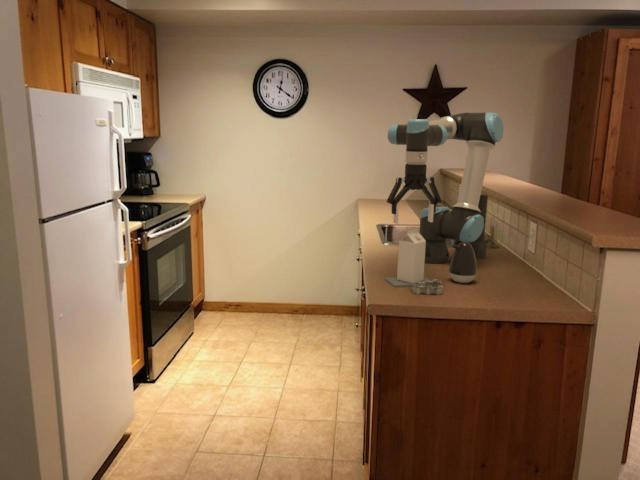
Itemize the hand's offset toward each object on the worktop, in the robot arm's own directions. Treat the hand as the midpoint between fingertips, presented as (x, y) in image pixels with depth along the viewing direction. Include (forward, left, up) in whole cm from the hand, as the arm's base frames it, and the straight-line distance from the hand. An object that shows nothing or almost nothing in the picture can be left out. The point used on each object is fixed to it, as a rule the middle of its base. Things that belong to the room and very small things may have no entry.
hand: (413, 222), depth 194 cm
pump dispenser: (-20, +3, -23) cm, 30 cm away
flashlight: (-47, -32, -23) cm, 61 cm away
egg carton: (-1, +13, -23) cm, 26 cm away
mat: (0, 0, -22) cm, 22 cm away
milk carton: (0, 0, -22) cm, 22 cm away
